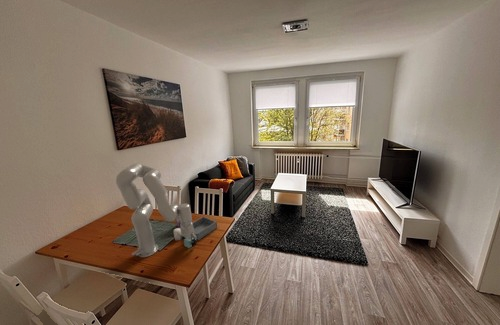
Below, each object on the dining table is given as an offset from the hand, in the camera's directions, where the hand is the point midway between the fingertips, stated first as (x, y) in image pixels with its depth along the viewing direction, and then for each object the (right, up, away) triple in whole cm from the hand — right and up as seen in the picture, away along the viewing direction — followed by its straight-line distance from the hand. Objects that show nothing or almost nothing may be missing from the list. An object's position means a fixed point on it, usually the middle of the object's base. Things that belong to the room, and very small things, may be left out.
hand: (189, 243), depth 138 cm
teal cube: (0, -2, 0) cm, 2 cm away
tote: (+4, +3, +16) cm, 17 cm away
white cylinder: (-11, 0, +9) cm, 14 cm away
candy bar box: (-12, +4, +25) cm, 28 cm away
